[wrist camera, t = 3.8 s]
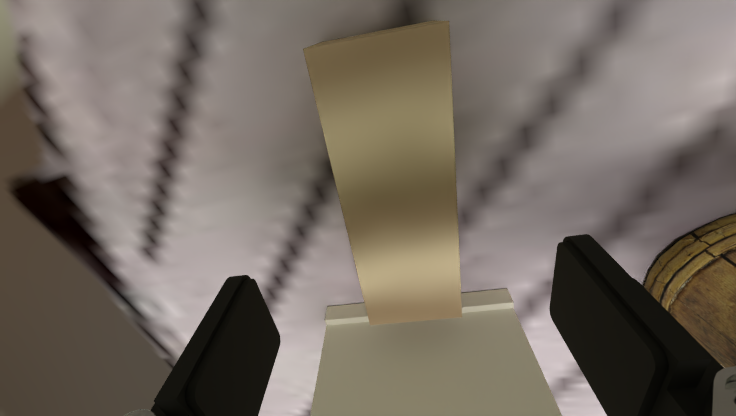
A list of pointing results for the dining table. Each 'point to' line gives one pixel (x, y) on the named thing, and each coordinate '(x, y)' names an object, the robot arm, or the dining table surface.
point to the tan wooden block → (394, 165)
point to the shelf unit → (431, 364)
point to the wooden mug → (702, 286)
